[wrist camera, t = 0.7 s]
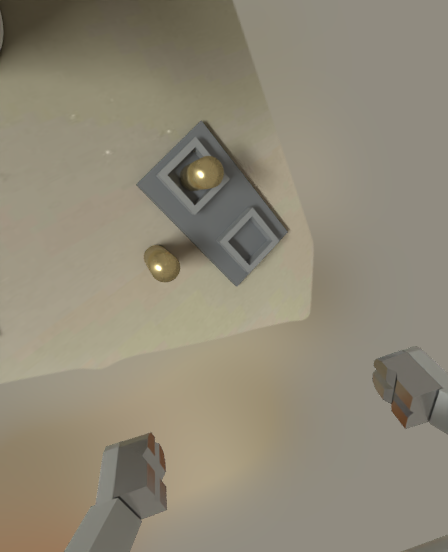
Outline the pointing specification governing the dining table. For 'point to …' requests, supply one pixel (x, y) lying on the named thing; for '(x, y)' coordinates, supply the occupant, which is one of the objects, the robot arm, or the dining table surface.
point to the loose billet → (161, 263)
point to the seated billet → (202, 174)
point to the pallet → (214, 207)
